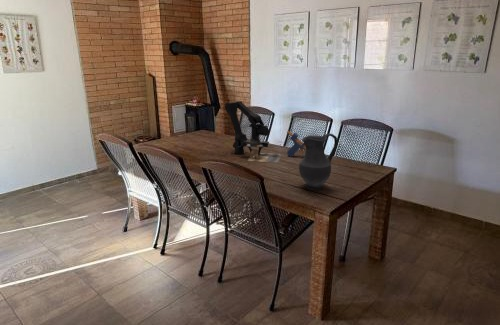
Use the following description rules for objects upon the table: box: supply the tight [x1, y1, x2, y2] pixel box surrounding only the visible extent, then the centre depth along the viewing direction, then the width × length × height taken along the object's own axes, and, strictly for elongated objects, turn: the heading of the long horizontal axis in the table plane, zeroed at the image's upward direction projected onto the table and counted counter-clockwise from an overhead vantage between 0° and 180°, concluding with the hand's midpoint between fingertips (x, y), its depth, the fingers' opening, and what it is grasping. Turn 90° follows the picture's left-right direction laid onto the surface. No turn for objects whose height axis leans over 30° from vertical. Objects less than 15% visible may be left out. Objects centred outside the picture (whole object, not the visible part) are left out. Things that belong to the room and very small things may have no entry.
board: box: [247, 152, 281, 164], centre depth 239 cm, size 21×14×4 cm, turn 78°
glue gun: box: [286, 130, 306, 158], centre depth 246 cm, size 6×31×15 cm
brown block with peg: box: [250, 148, 259, 159], centre depth 239 cm, size 4×10×5 cm, turn 168°
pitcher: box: [298, 132, 339, 191], centre depth 187 cm, size 17×21×30 cm
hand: (255, 155), depth 241 cm, fingers closed on brown block with peg, 4 cm apart
